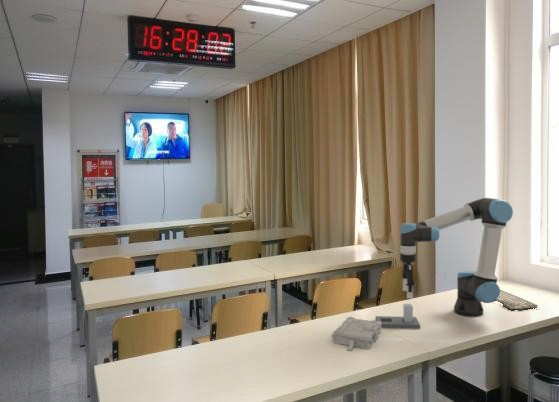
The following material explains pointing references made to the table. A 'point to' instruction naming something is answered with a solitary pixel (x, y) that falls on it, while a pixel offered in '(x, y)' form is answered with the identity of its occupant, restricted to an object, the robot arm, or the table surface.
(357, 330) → the grey lumpy block
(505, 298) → the mechanical keyboard
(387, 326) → the jack panel
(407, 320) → the plug
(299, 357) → the table surface
